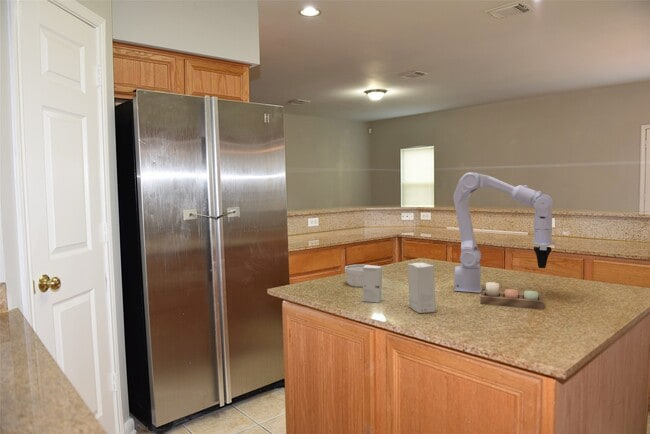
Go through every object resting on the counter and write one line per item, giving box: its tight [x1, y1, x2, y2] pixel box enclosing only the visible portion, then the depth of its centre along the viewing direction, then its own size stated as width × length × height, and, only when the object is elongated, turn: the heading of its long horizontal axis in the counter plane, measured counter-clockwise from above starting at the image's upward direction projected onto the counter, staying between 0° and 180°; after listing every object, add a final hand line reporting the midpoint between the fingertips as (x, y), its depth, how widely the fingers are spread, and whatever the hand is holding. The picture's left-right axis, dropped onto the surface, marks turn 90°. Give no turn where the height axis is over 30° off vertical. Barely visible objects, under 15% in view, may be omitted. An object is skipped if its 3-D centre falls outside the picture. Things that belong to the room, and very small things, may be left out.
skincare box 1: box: [362, 264, 383, 303], centre depth 159 cm, size 6×4×12 cm
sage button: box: [523, 290, 539, 300], centre depth 151 cm, size 4×4×4 cm
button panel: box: [479, 290, 544, 310], centre depth 153 cm, size 19×9×2 cm, turn 67°
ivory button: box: [485, 281, 500, 297], centre depth 155 cm, size 4×4×4 cm
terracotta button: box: [504, 288, 519, 298], centre depth 153 cm, size 4×4×4 cm
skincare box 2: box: [407, 261, 437, 314], centre depth 147 cm, size 8×6×15 cm
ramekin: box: [344, 264, 366, 288], centre depth 185 cm, size 13×13×7 cm
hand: (541, 267), depth 160 cm, fingers closed
